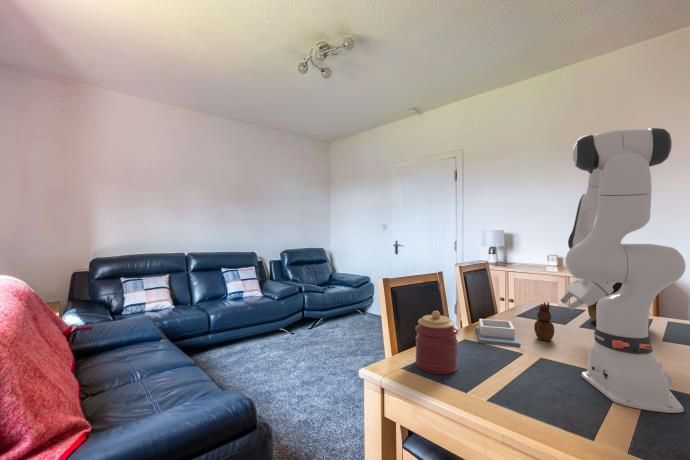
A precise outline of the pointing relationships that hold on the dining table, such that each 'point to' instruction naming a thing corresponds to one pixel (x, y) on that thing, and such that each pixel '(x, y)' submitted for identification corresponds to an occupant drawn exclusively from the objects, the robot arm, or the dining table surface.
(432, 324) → the canister
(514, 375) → the dining table surface
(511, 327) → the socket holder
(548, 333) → the wooden figurine
